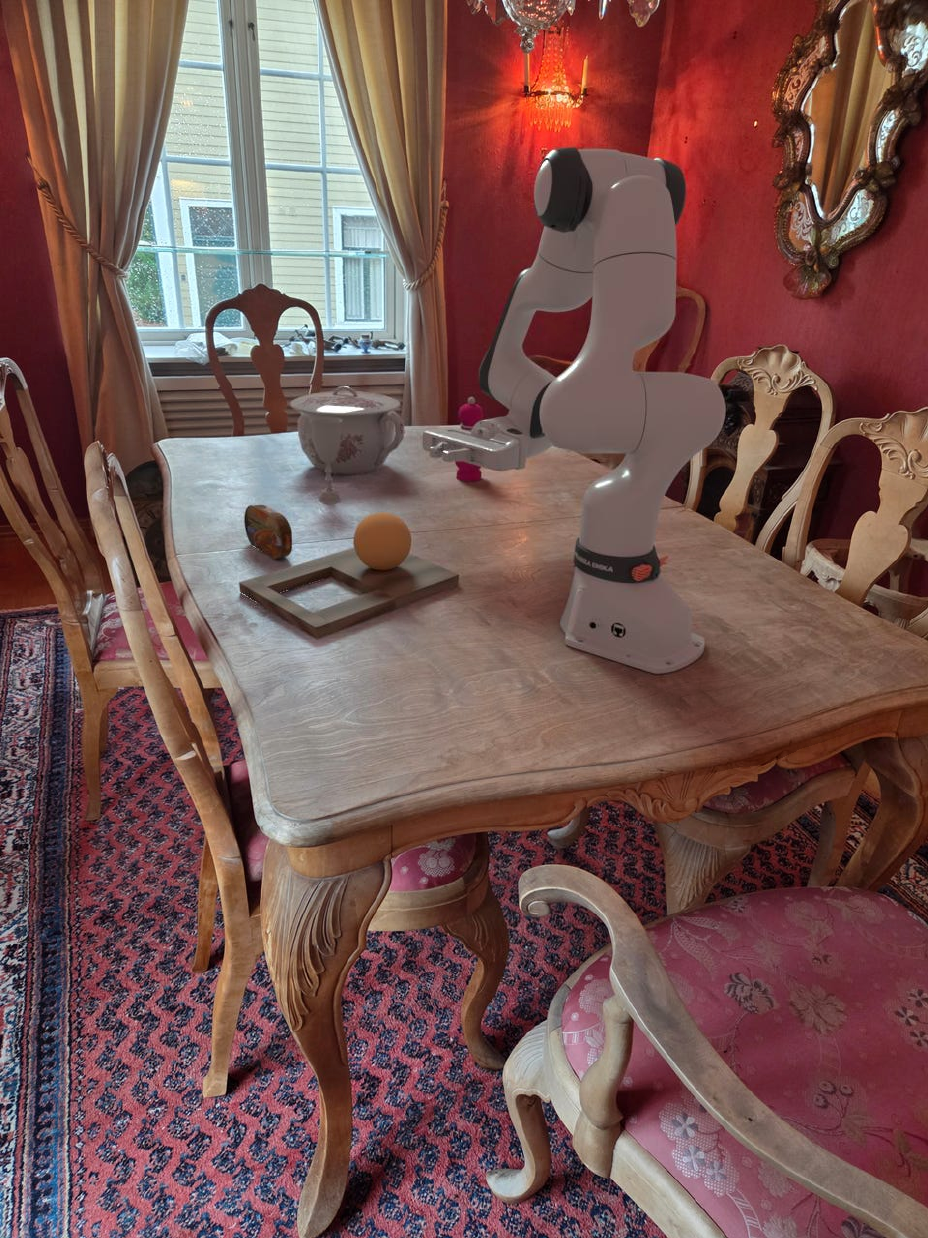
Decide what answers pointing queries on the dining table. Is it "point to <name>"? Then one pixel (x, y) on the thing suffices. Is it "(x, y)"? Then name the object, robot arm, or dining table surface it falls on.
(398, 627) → the dining table surface
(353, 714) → the dining table surface
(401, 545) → the ball
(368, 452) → the chamber pot
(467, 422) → the pepper mill
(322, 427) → the chalice
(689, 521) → the dining table surface
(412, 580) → the board
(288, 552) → the tin
